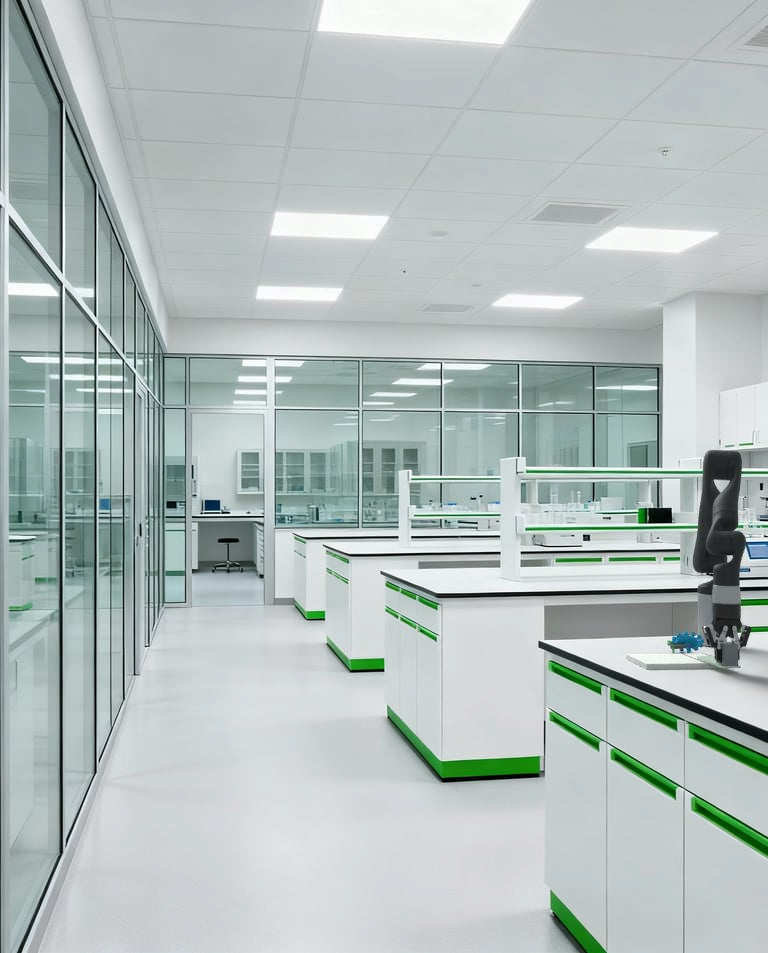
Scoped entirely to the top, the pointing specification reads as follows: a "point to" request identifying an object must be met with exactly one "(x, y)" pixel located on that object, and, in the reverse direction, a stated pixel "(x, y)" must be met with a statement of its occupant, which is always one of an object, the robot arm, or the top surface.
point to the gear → (685, 642)
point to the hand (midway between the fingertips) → (727, 661)
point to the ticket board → (669, 661)
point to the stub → (725, 656)
